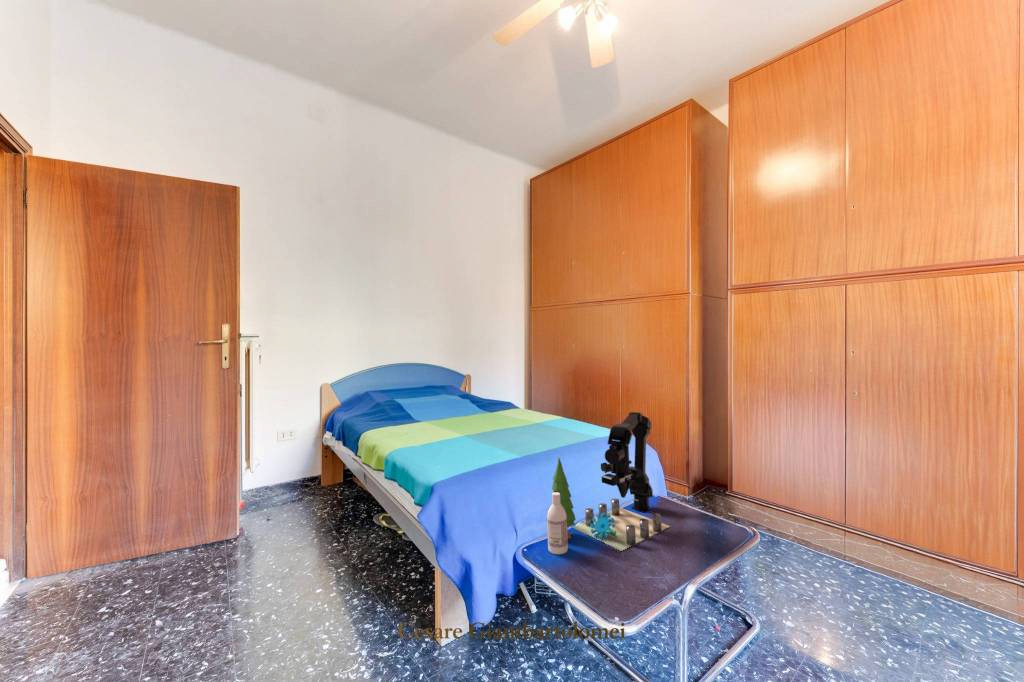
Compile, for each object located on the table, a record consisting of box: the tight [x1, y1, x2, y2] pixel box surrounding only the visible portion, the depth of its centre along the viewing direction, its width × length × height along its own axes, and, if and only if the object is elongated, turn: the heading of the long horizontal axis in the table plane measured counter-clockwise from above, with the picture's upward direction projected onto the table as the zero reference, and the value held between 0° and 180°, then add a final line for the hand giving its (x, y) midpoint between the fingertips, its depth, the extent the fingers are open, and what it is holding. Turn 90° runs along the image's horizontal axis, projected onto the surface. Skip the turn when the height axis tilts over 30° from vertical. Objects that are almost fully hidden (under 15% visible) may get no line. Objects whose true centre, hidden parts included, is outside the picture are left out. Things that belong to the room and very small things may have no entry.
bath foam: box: [546, 491, 569, 555], centre depth 141 cm, size 7×7×20 cm
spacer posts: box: [584, 498, 663, 547], centre depth 155 cm, size 19×23×6 cm
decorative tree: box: [551, 457, 577, 540], centre depth 151 cm, size 10×9×30 cm
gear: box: [590, 512, 617, 539], centre depth 150 cm, size 11×6×10 cm
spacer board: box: [571, 507, 671, 552], centre depth 156 cm, size 30×24×1 cm
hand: (623, 497), depth 156 cm, fingers closed
